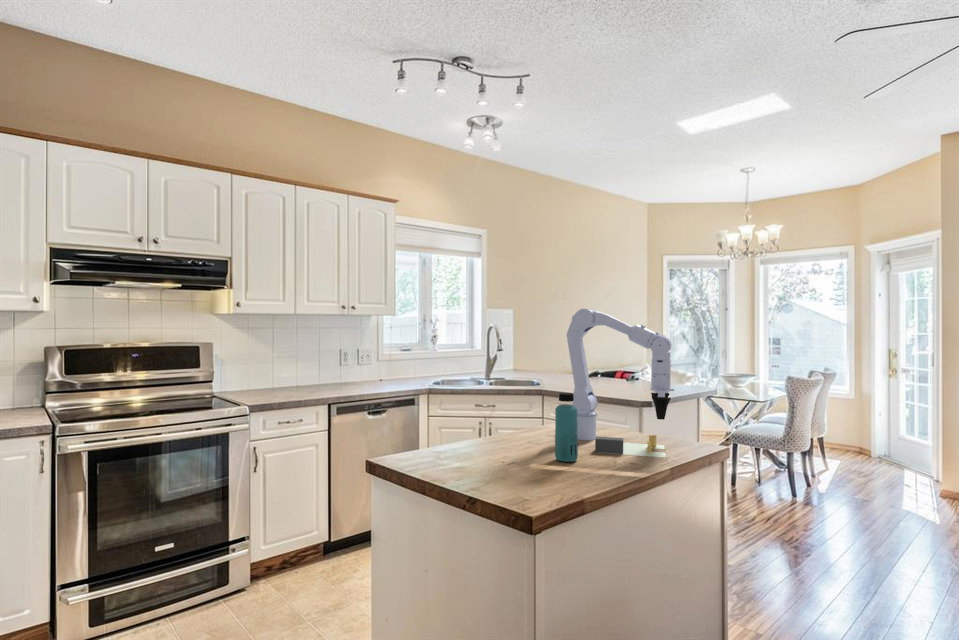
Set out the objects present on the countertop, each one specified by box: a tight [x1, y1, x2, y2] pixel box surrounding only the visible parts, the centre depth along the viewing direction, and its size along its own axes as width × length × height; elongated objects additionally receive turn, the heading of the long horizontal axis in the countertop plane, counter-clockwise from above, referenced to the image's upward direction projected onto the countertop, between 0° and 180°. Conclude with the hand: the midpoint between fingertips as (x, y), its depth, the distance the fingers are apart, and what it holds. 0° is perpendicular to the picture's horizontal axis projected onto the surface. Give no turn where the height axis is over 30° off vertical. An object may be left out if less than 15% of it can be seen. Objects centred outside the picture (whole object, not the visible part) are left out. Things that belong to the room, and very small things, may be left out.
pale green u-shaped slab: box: [594, 434, 667, 459], centre depth 171 cm, size 20×16×4 cm
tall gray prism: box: [594, 435, 624, 455], centre depth 166 cm, size 8×4×4 cm, turn 73°
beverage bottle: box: [554, 392, 579, 462], centre depth 156 cm, size 6×7×20 cm
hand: (660, 417), depth 175 cm, fingers open, 7 cm apart
